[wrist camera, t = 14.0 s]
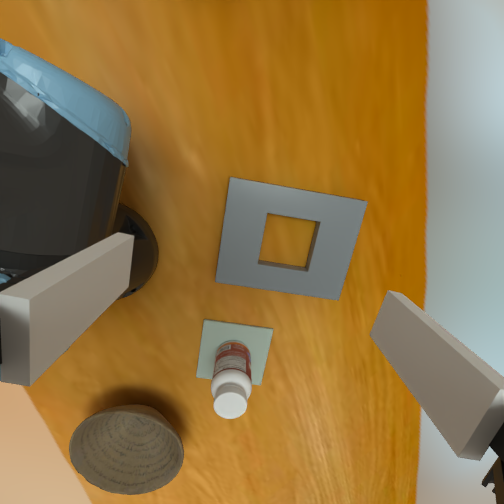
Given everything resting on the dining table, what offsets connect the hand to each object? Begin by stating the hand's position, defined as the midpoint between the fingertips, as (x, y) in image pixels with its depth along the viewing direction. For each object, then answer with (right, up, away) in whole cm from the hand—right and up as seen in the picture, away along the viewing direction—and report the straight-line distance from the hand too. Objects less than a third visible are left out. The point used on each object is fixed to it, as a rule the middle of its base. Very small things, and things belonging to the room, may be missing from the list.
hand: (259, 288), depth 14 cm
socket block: (+5, +4, +29) cm, 30 cm away
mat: (-4, -16, +35) cm, 39 cm away
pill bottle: (-4, -16, +35) cm, 39 cm away
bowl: (-21, -30, +39) cm, 54 cm away
